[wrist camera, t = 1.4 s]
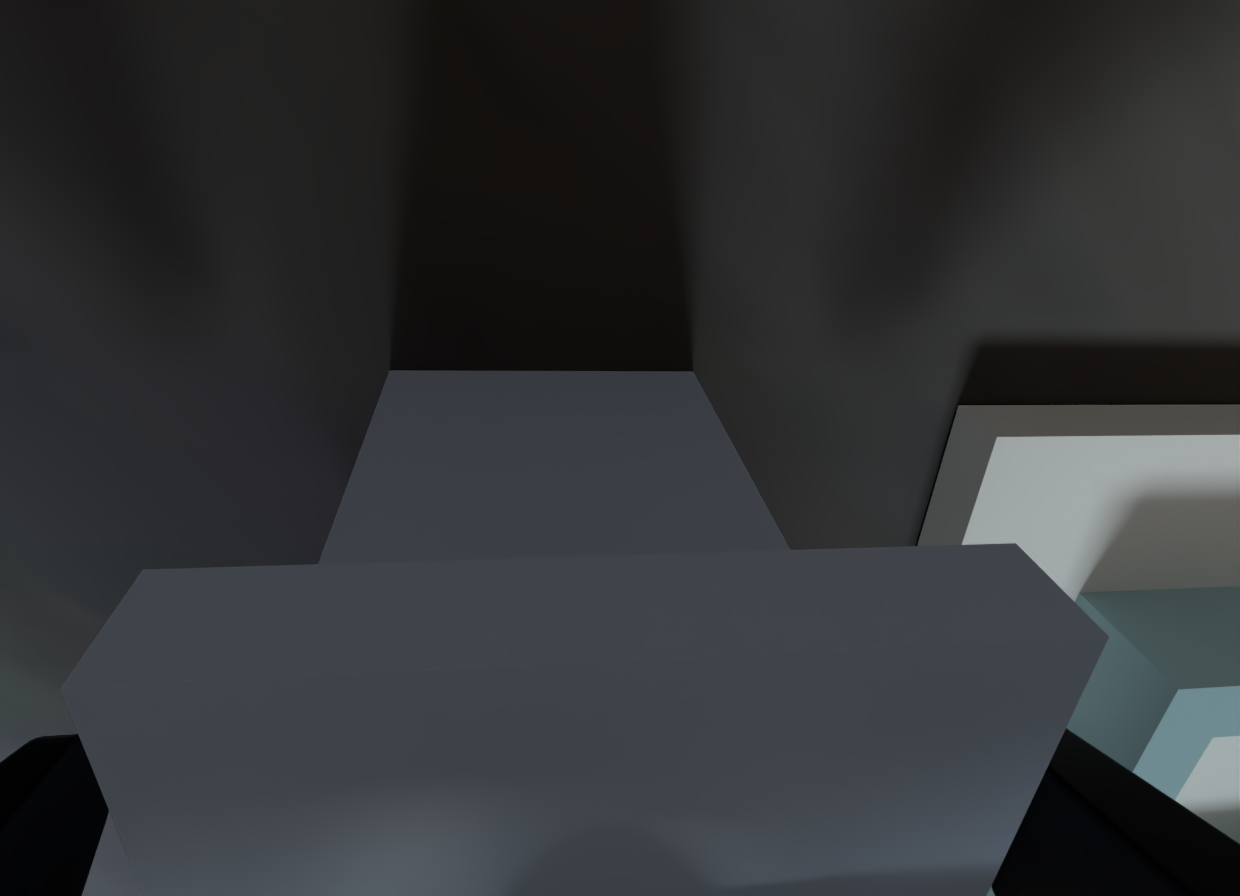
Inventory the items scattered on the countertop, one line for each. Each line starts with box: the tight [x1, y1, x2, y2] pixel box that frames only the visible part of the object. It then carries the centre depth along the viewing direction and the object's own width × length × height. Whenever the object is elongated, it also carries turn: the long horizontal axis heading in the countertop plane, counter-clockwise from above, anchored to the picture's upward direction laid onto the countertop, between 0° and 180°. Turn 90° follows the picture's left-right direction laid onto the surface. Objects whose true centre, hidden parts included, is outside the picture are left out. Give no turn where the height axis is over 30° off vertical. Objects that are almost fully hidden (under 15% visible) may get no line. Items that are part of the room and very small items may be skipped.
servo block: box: [60, 370, 1109, 896], centre depth 7 cm, size 9×4×9 cm, turn 177°
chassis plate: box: [917, 404, 1240, 896], centre depth 14 cm, size 14×12×3 cm
